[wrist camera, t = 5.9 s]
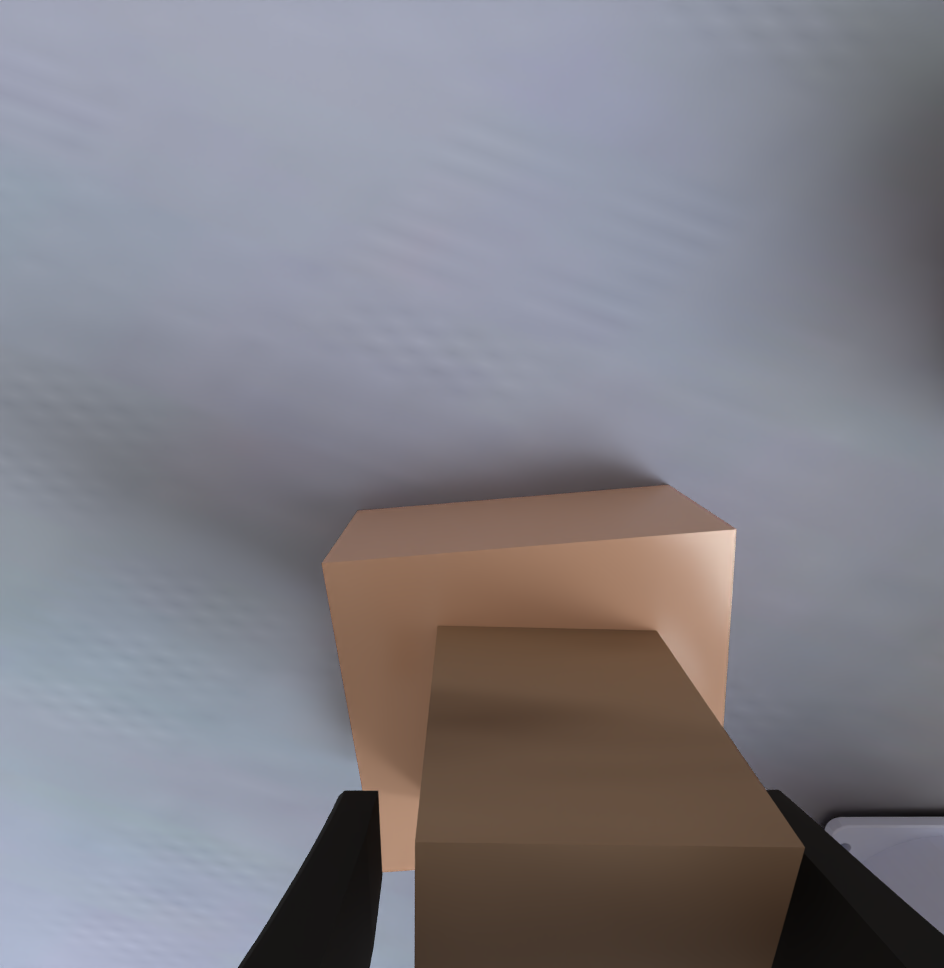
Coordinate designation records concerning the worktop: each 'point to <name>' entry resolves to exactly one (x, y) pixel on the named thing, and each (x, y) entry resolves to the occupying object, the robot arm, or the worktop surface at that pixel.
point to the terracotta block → (512, 605)
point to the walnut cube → (589, 812)
